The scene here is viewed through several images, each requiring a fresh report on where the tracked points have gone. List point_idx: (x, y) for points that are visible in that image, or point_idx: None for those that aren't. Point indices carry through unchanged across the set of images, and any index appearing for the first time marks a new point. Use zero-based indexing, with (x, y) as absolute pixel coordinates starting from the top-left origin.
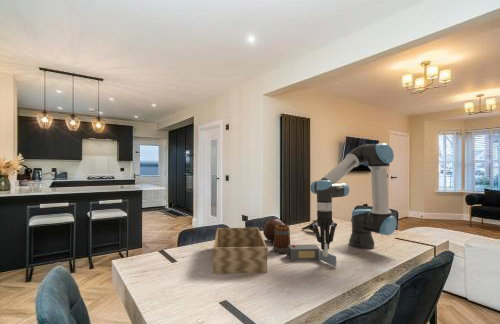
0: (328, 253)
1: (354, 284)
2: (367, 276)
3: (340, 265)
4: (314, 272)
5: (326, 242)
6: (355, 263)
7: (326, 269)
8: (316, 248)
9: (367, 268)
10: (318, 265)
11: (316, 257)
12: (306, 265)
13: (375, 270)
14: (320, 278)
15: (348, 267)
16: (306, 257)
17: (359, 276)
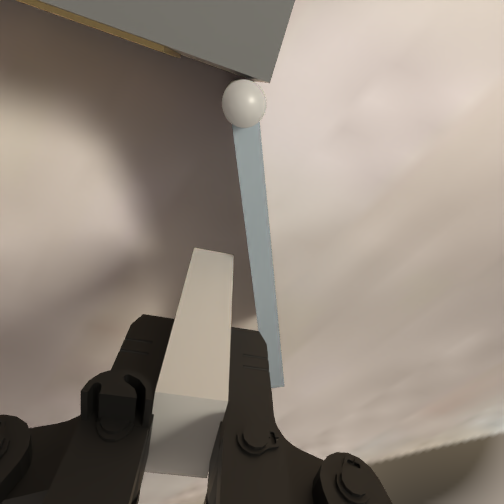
0: (264, 293)
1: (196, 492)
2: (347, 451)
3: (340, 284)
4: (27, 331)
5: (210, 469)
6: (495, 289)
7: (162, 314)
8: (209, 31)
9: (469, 380)
10: (139, 221)
11: (207, 63)
12: (4, 178)
13: (478, 411)
14: (33, 410)
15: (364, 333)
16: (47, 11)
17: (303, 443)
